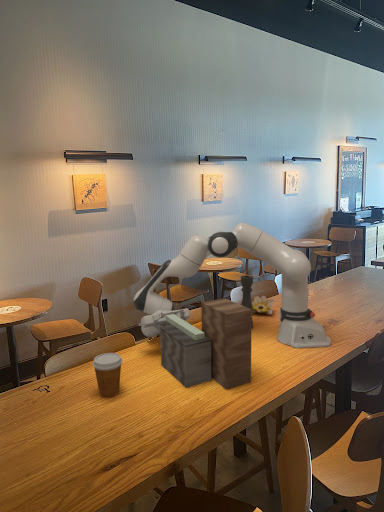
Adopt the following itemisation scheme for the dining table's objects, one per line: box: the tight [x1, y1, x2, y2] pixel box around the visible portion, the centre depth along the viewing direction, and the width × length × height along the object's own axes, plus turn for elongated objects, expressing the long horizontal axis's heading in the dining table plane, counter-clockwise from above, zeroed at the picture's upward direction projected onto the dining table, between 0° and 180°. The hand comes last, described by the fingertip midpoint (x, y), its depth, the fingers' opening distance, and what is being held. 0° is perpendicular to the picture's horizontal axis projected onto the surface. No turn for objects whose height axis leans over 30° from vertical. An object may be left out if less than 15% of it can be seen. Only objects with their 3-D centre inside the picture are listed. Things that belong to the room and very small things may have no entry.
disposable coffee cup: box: [92, 352, 123, 398], centre depth 125 cm, size 10×10×12 cm
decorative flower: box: [251, 295, 276, 316], centre depth 204 cm, size 15×11×10 cm
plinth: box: [200, 297, 253, 391], centre depth 134 cm, size 16×10×26 cm, turn 29°
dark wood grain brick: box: [159, 325, 212, 388], centre depth 138 cm, size 20×10×15 cm, turn 29°
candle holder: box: [240, 274, 254, 330], centre depth 182 cm, size 6×6×25 cm
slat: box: [165, 314, 205, 340], centre depth 141 cm, size 24×4×2 cm, turn 29°
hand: (172, 313), depth 149 cm, fingers open, 8 cm apart
